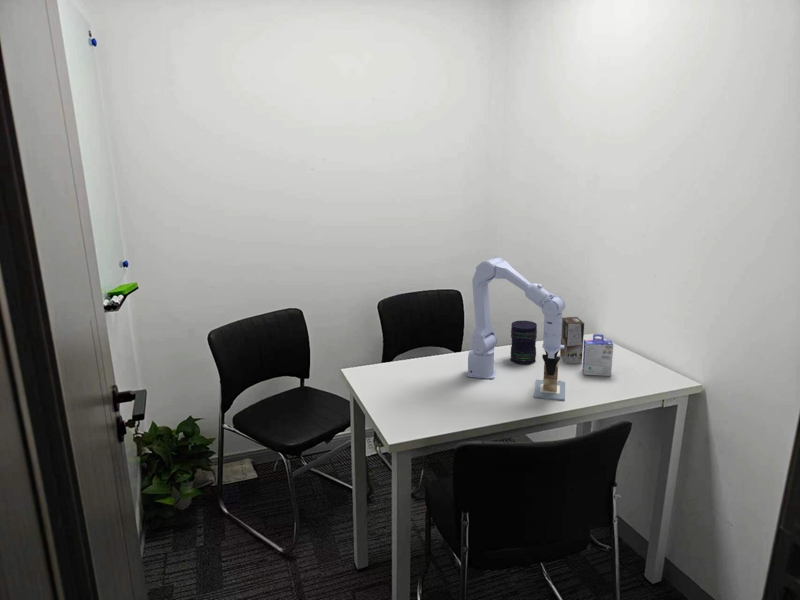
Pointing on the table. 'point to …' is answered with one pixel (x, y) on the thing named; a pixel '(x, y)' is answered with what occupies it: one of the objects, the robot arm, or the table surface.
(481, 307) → the robot arm
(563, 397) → the board
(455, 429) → the table surface
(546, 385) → the oak cube
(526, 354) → the storage jar
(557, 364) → the walnut cube
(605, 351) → the ink cartridge box
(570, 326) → the coffee box
